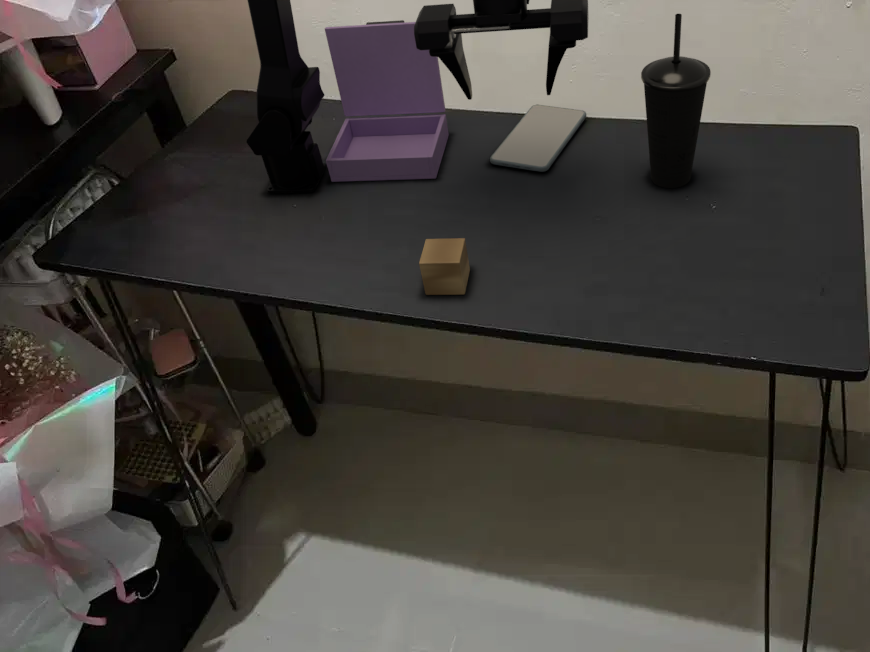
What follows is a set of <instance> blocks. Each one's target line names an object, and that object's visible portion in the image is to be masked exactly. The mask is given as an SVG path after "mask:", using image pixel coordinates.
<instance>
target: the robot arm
mask: <svg viewBox="0 0 870 652" xmlns="http://www.w3.org/2000/svg"><path fill="white" fill-rule="evenodd" d="M472 4H473V12H474V13H463V14H462V13H459V14H457V9H456V6H455V4H454V3H442V4H427V5H423V6H422V8H421V9H420V11H419V13H418V15H417V17H416V20H415V22H416V23H415V25H414V36H415V42H416V48H417V49H419V50H429V54H430V56H432V57H438V59H439V60H440V61H441V63H443V65H444V66H445V67H446V69H447V70H448V71H449V72H450V74H451V75H452V76H453V77H454V79H455V81H456V83H457V84H458V86H459V87H460V89H461V91H462V92H463V94H464V95H465V97H466V98H467V100H468V101H469V100H472V99H473V88H472V81H471V77H470V71H469V68H468V63H467V59H466V55H465V51H464V45H463V36H462V34H476V33H489V32H491V33H492V32H505V31H506V32H507V31H522V30H523V31H524V30H535V29H537V30H538V29H549V40H548V51H547V63H546V77H545V78H546V79H545V88H546V89H545V91H546V95H547V96H551V94H552V91H553V87H554V83H555V79H556V76H557V73H558V70H559V67H560V65H561V62H562V60H563V58H564V56H565V54H566V51H567V50H568V49H573V48H576V46H577V41H584V40H586V39H588V38H589V0H551V1H550V7H547V8H535V9H528V5H530V0H472ZM247 5H248V9H249V15H250V20H251V24H252V29H253V34H254V38H255V44H256V49H257V53H258V58H259V65H260V66H259V74H258V79H257V87H256V92H255V97H256V116H257V117H256V118H257V120H258V123H257V125H256V126H255V128H254V129H253V130H252V132H251V133H250V135H249V136H248V137H247V139H246V144H247V146H248V147H249V148H250V150H251V151H252V153H253V154H254V155H255V156H260V157H261V159H262V162H263V165H264V168H265V170H266V174H267V176H268V179H269V182H270V183H269V184H268V186H267V188H266V191H267V193H268V194H296V193H297V194H299V193H300V194H301V193H314V192H315V191H316V189H317V186H318V185H319V183H320V181H321V179H322V178H323V174H324V172H325V171H326V167H327V165H326V164H325V163H324V161H323V157H322V154H321V151H320V147H319V144H318V143H317V142H314V139H313V136H312V132H311V130H307V129H308V127H309V126H310V125H311V124H312V123H313V117H314V115H315V114H316V113H317V112H318V110H319V108H320V105H321V101H322V100H323V99H324V97H325V93H324V91H323V89H322V86H321V71H320V67H318V66H311V67H309V66H308V65H307V63H306V62H305V61H304V59H303V58H302V56H301V53H300V50H299V49H300V48H299V43H298V38H297V32H296V27H295V20H294V14H293V8H292V3H291V0H247Z"/></svg>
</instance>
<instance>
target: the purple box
mask: <svg viewBox="0 0 870 652" xmlns="http://www.w3.org/2000/svg"><path fill="white" fill-rule="evenodd" d="M449 136H450V133H449V127H448V119H447V115H446V113H436V114H433V113H432V114H413V115H412V114H409V115H391V116H389V115H386V116H368V117H367V116H366V117H365V116H361V117H346V118H345V119H344V121H343V123H342V125H341V127H340V130H339V132H338V133H337V136H336V138H335V140H334V143H333V144H332V147H331V149H330V150H329V153H328V155H327V157H326V160H325V163H326V164H325V165H326V167H327V170H328V175H329V177H330V181H331V183H334V182H335V183H337V182H339V183H340V182H367V181H370V182H371V181H399V180H402V181H403V180H430V179H431V180H433V179H434V180H435V179H437V176H438V174H439V173H438V172H439V169H440V167H441V163H442V159H443V157H444V154H445V149H446V146H447V143H448V139H449Z"/></svg>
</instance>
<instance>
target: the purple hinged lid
mask: <svg viewBox="0 0 870 652" xmlns="http://www.w3.org/2000/svg"><path fill="white" fill-rule="evenodd" d="M415 23H416V21H406V22H405V20H403V19H402V20H387V21H385V20H384V21H383V20H382V21H370V22H366V23H365V24H355V25H340V26H337V25H336V26H325V27H324V33H325V37H326V41H327V46H328V51H329V53H330V58H331V62H332V63H331V64H332V67H333V71H334V75H335V79H336V83H337V90H338V93H339V97H340V101H341V106H342V110H343V111H342V112H343V114H344V117H365V116H366V117H367V116H385V115H386V116H389V115H412V114H413V115H414V114H433V113H436V114H438V113H445V112H446V105H445V104H446V103H445V97H444V91H443V84H442V75H441V70H440V63H439V57H432V56H430V54H429V50H419V49H417V48H416V42H415V36H414V25H415Z"/></svg>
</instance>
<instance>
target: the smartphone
mask: <svg viewBox="0 0 870 652" xmlns="http://www.w3.org/2000/svg"><path fill="white" fill-rule="evenodd" d="M586 118H587V112H586V111H585V110H583V109H577V108H576V109H574V108H567V107H561V106H560V107H559V106H553V105H552V106H551V105H543V104H533V105H532V106H530V108H529V109H528V110H527V111H526V112H525V114H524V115H523V116H522V117H521V119H520V120H519V121H518V122H517V123H516V125H515V126H514V127H513V129H512V130H511V131H510V132H509V134H508V135H507V136H506V137H505V138H504V139H503V141H502V142H501V143H500V145H498V147H497V148H496V149H495V151H493V153H492V154H491V156H490V157H489V161H490V163H491V164H492V165H496V166H501V167H502V166H503V167H508V168H513V169H514V168H515V169H521V170H527V171H533V172H539V173H544V172H546V171H549V169H550V168H551V167H552V165H553V164H554V163H555V161H556V160H557V158H558V157H559V156H560V154H561V152H562V151H563V150H564V148H565V147H566V145H568V143H569V142H570V140H571V139H572V137H573V136H574V135H575V133H576V132H577V131H578V129H579V128H580V127H581V125H582V124H583V122H584V121H585V119H586Z"/></svg>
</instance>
